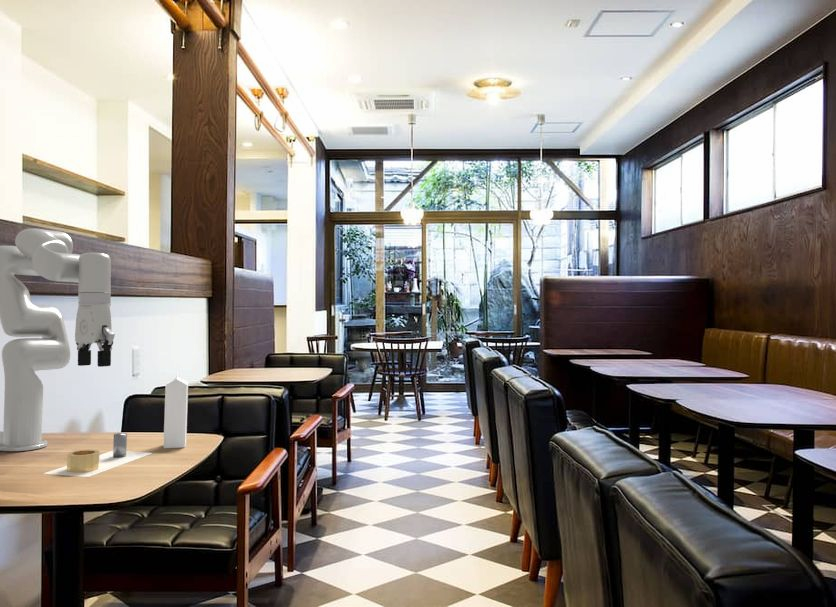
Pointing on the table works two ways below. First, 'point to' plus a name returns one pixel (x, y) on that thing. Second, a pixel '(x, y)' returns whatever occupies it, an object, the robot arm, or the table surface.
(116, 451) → the cylinder
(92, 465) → the ring
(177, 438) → the milk
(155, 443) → the table surface
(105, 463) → the board
